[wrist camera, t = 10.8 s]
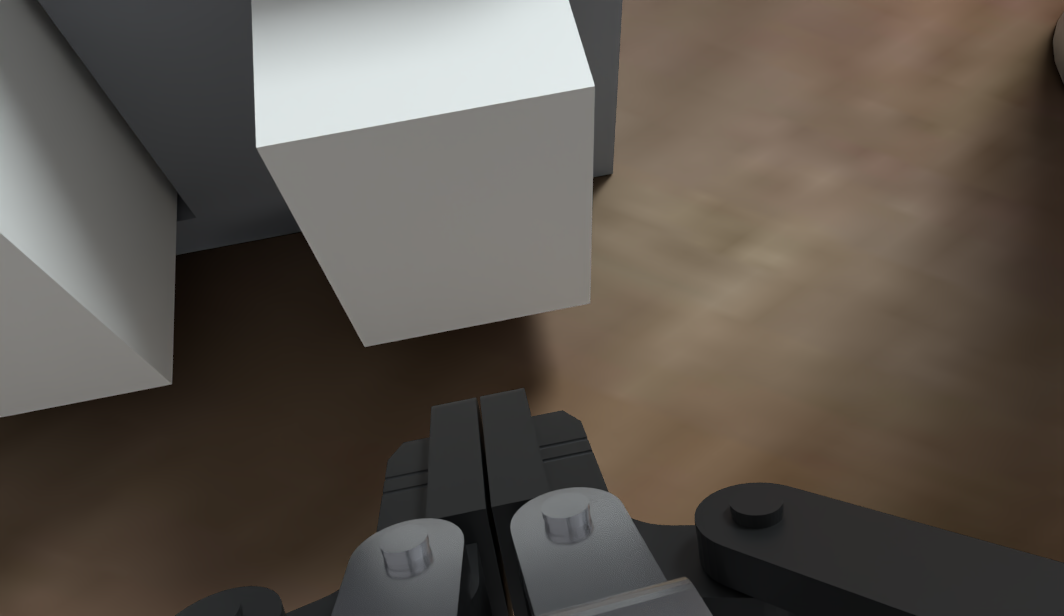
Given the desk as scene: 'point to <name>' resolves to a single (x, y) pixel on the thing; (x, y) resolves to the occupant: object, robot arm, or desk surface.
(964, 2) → the desk surface
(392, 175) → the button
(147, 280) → the middle button
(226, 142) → the button panel
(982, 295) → the desk surface
